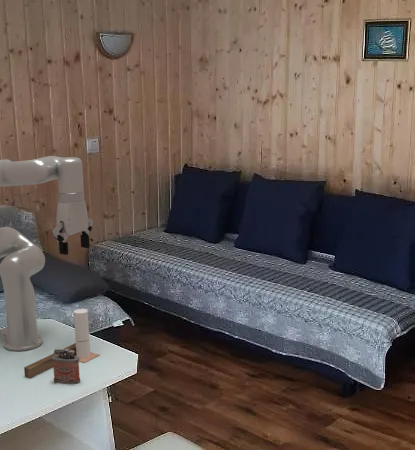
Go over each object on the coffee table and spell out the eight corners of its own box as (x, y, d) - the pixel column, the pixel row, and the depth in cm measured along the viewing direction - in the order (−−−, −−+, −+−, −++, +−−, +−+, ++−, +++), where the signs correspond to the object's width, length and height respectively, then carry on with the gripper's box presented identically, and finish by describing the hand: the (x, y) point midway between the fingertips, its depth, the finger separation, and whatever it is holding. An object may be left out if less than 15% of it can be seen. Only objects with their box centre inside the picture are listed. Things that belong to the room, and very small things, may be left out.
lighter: (82, 380, 199) (80, 348, 196) (77, 385, 195) (75, 352, 193) (56, 378, 200) (54, 346, 198) (51, 382, 197) (49, 350, 195)
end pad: (70, 359, 214) (70, 358, 214) (85, 351, 219) (85, 350, 219) (84, 363, 210) (84, 362, 210) (99, 355, 216) (99, 354, 216)
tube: (87, 359, 213) (84, 313, 210) (74, 358, 214) (71, 312, 210) (92, 353, 217) (89, 309, 214) (79, 352, 218) (76, 308, 215)
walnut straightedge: (24, 376, 201) (24, 367, 201) (80, 349, 221) (79, 340, 221) (30, 378, 200) (29, 369, 199) (85, 350, 220) (85, 342, 219)
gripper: (81, 192, 220) (84, 243, 223) (42, 200, 205) (46, 255, 209) (99, 194, 216) (101, 246, 219) (60, 202, 201) (64, 258, 205)
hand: (74, 250), depth 214 cm, fingers open, 9 cm apart
